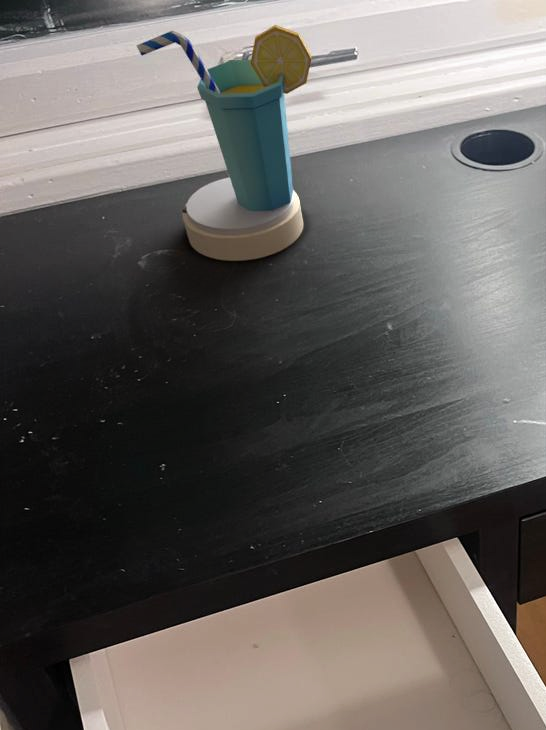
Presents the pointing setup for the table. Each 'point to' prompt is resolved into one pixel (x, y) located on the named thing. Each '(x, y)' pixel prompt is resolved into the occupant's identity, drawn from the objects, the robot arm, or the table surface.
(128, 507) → the table surface
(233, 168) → the cup
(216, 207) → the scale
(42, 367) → the table surface
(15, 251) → the table surface
